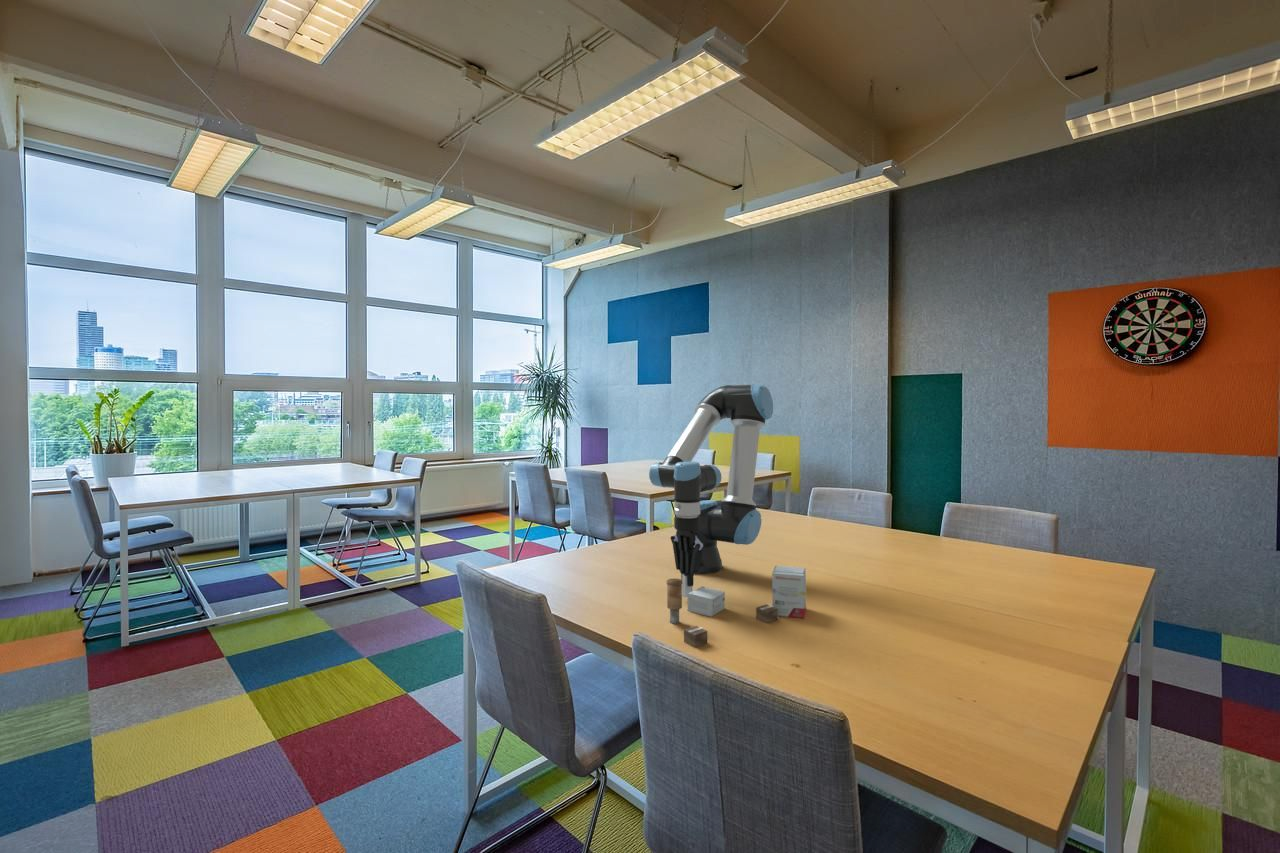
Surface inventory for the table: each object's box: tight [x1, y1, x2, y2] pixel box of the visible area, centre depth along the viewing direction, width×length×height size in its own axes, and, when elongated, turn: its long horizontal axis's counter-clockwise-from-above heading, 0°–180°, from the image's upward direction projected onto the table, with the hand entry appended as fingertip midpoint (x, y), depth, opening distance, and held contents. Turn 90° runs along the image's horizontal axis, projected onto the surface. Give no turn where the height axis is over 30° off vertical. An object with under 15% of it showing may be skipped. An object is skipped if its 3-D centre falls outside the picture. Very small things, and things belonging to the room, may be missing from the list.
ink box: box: [771, 564, 807, 619], centre depth 159 cm, size 9×9×12 cm
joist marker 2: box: [755, 604, 779, 624], centre depth 154 cm, size 4×4×3 cm
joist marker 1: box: [683, 625, 708, 648], centre depth 140 cm, size 4×4×3 cm
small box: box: [687, 586, 726, 617], centre depth 161 cm, size 8×8×5 cm
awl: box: [666, 577, 683, 625], centre depth 152 cm, size 4×4×11 cm
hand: (687, 596), depth 168 cm, fingers closed
